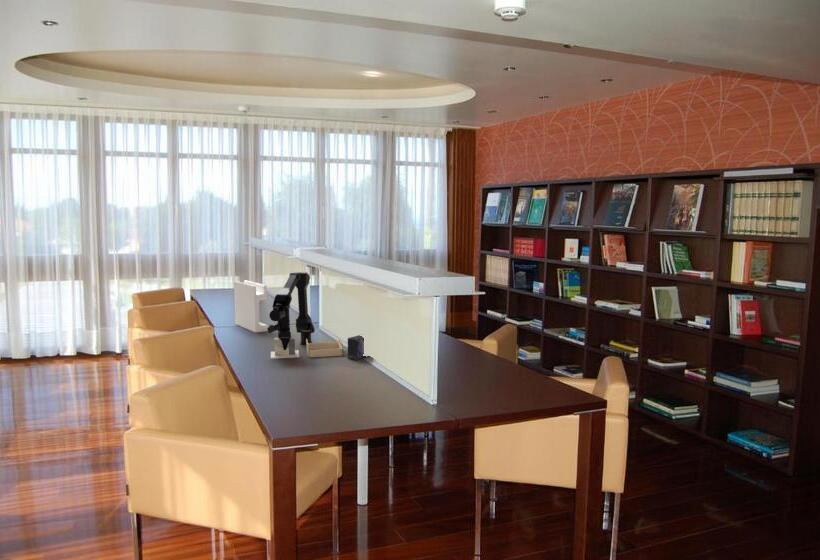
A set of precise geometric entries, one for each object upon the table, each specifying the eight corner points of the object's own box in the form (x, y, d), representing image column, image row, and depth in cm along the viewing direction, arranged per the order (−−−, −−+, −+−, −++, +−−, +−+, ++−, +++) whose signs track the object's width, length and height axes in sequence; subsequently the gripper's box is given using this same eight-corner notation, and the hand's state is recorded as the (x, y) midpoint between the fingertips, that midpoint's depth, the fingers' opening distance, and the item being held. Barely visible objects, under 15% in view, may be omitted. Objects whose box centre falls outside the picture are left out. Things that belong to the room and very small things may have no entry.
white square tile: (270, 352, 329) (270, 351, 329) (298, 351, 332) (298, 350, 332) (270, 358, 315) (270, 357, 315) (299, 357, 318) (299, 356, 318)
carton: (306, 349, 334) (306, 338, 333) (339, 348, 338) (339, 336, 337) (308, 357, 317) (307, 345, 317) (343, 355, 321) (342, 343, 320)
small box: (356, 360, 310) (356, 339, 309) (347, 358, 314) (346, 338, 313) (371, 356, 319) (370, 335, 317) (361, 354, 322) (360, 334, 321)
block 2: (274, 353, 325) (274, 337, 324) (294, 352, 327) (294, 336, 326) (274, 355, 320) (274, 339, 319) (295, 354, 322) (294, 338, 321)
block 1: (235, 323, 410) (233, 280, 407) (247, 322, 414) (245, 279, 411) (255, 332, 381) (253, 286, 378) (268, 330, 386) (266, 285, 383)
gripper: (267, 315, 328) (268, 345, 330) (267, 321, 310) (268, 353, 312) (289, 314, 331) (290, 343, 333) (290, 320, 313) (291, 351, 315)
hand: (284, 348), depth 323 cm, fingers open, 9 cm apart
